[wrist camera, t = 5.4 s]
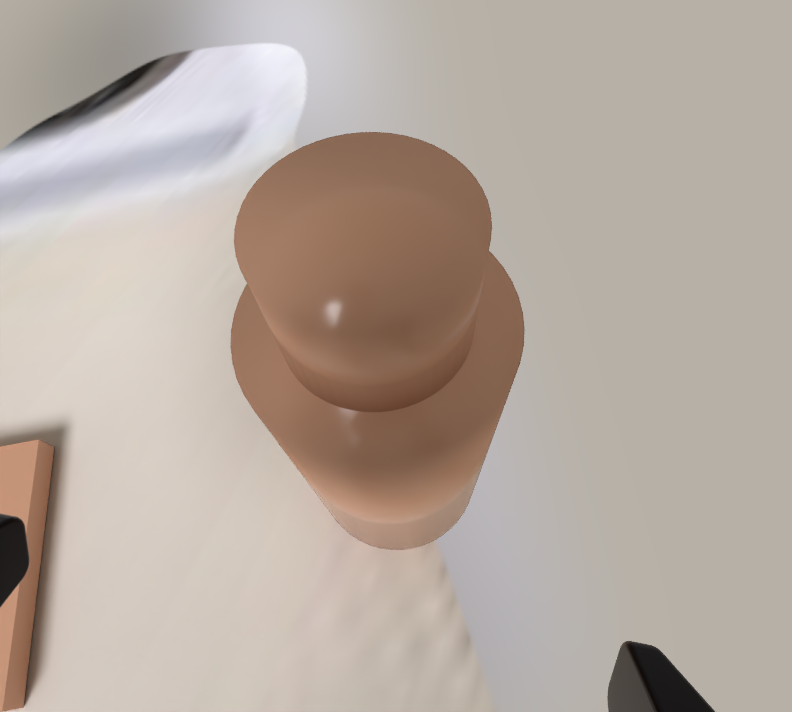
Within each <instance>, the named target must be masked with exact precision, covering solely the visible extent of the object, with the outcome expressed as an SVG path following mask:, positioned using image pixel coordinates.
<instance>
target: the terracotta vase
mask: <svg viewBox="0 0 792 712" xmlns="http://www.w3.org/2000/svg"><path fill="white" fill-rule="evenodd" d="M491 230H492V222H491V212H490V208H489V204H488V200H487V198H486V196H485V194H484V191H483V189H482V187H481V186H480V184H479V183H478V181H477V180H476V178H475V177H474V176H473V174H472V173H471V172H470V171H469V170H468V169H467V168H466V167H465V166H464V165H463V164H462V163H460V161H458V160H457V159H456V158H454V157H453V156H452V155H450V154H448V153H447V152H445V151H444V150H442V149H440V148H438V147H436V146H434V145H432V144H429V143H427V142H424V141H422V140H419V139H415V138H412V137H408V136H404V135H398V134H392V133H380V132H379V133H378V132H365V133H364V132H361V133H351V134H344V135H339V136H334V137H330V138H326V139H323V140H320V141H316V142H314V143H312V144H309V145H306V146H304V147H302V148H300V149H298V150H296V151H294V152H292V153H290V154H289V155H287V156H286V157H284V158H283V159H281V160H279V161H278V162H277V163H275V164H274V165H273V166H272V167H271V168H269V169H268V170H267V171H266V172H265V173H264V174H263V175H262V176H261V177H260V178H259V179H258V180H257V181H256V183H255V184H254V185H253V187H252V188H251V189H250V191H249V192H248V194H247V196H246V198H245V199H244V201H243V203H242V205H241V208H240V211H239V213H238V216H237V220H236V225H235V234H234V245H235V252H236V257H237V261H238V264H239V267H240V270H241V272H242V274H243V276H244V278H245V280H246V282H247V285H246V287H245V289H244V291H243V293H242V295H241V297H240V299H239V302H238V305H237V308H236V311H235V314H234V319H233V324H232V329H231V353H232V362H233V366H234V370H235V373H236V377H237V380H238V383H239V385H240V387H241V389H242V391H243V394H244V396H245V397H246V399H247V400H248V402H249V403H250V405H251V406H252V408H253V409H254V411H255V412H256V414H257V415H258V416H259V418H260V419H261V420H262V422H263V423H264V424H265V426H266V427H267V428H268V430H269V431H270V432H271V434H272V435H273V436H274V438H275V439H276V440H277V442H278V443H279V445H280V446H281V447H282V449H283V450H284V451H285V453H286V454H287V455H288V457H289V458H290V459H291V461H292V462H293V463H294V465H295V466H296V467H297V469H298V470H299V471H300V473H301V474H302V475H303V477H304V478H305V479H306V481H307V482H308V483H309V485H310V486H311V487H312V489H313V490H314V492H315V493H316V494H317V496H318V497H319V498H320V500H321V501H322V502H323V504H324V505H325V506H326V508H327V509H328V510H329V512H330V513H331V514H332V516H333V517H334V518H335V520H336V521H337V522H338V523H339V524H340V525H341V527H342V528H343V529H345V530H346V531H347V532H348V533H349V534H350V535H352V536H353V537H355V538H357V539H358V540H360V541H362V542H364V543H366V544H369V545H371V546H375V547H378V548H383V549H390V550H403V549H411V548H415V547H419V546H423V545H425V544H427V543H430V542H432V541H434V540H436V539H437V538H439V537H441V536H442V535H443V534H445V533H446V532H447V531H448V530H449V529H450V528H451V527H453V525H454V524H455V523H456V522H457V521H458V520H459V518H460V517H461V516H462V514H463V513H464V511H465V509H466V507H467V505H468V503H469V500H470V498H471V495H472V492H473V490H474V487H475V484H476V482H477V479H478V476H479V473H480V471H481V468H482V465H483V462H484V460H485V457H486V454H487V452H488V449H489V446H490V443H491V441H492V438H493V435H494V433H495V430H496V427H497V424H498V422H499V419H500V416H501V413H502V411H503V408H504V405H505V403H506V400H507V397H508V394H509V392H510V389H511V386H512V384H513V381H514V378H515V375H516V373H517V370H518V367H519V364H520V361H521V356H522V351H523V346H524V321H523V312H522V308H521V305H520V301H519V297H518V295H517V292H516V290H515V288H514V285H513V283H512V281H511V279H510V278H509V276H508V274H507V273H506V271H505V269H504V268H503V266H502V265H501V264H500V263H499V262H498V260H497V259H496V258H495V257H494V255H493V254H492V253H491V252H489V246H490V241H491Z"/></svg>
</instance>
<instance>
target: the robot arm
mask: <svg viewBox="0 0 792 712" xmlns="http://www.w3.org/2000/svg"><path fill="white" fill-rule="evenodd" d="M29 563H30V558H29V550H28V543H27V536H26V529H25V524H24V522H23V521H22V519H20V518H19V517H16V516H11V515H6V514H1V513H0V607H1V606H2V605H3V603H4V602H5V601H6V600H7V598H8V597H9V596H10V595H11V593H12V592H13V591H14V589H15V588H16V587H17V586H18V584H19V583H20V582H21V580H22V579H23V578H24V576H25V574H26V573H27V570H28V567H29ZM608 708H609V709H608V710H609V712H715V711H714V710H713V709H712V708H711V706H710V705H709V704H708V703H707V702H706V701H705V700H704V699H703V698H702V696H701V695H700V694H699V693H698V692H697V691H696V690H695V689H694V687H693V686H692V685H691V684H690V683H689V682H688V681H687V680H686V679H685V678H684V676H683V675H682V674H681V673H680V672H679V671H678V670H677V669H676V668H675V666H674V665H673V664H672V663H671V662H670V661H669V660H668V659H667V657H666V656H665V655H664V654H663V653H662V652H661V651H660V650H659V649H658V648H656V647H654V646H652V645H647V644H642V643H637V642H632V641H626V642H624V643H623V644H622V646H621V648H620V651H619V654H618V657H617V660H616V663H615V667H614V670H613V673H612V677H611V680H610V683H609V688H608Z"/></svg>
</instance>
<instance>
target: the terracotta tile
mask: <svg viewBox="0 0 792 712" xmlns="http://www.w3.org/2000/svg"><path fill="white" fill-rule="evenodd" d="M53 455H54V447H53V446H51V445H49V444H47V443H45V442H43V441H41V440H39V439H38V440H33V441H27V442H22V443H16V444H11V445H5V446H0V513H1V514H6V515H11V516H16V517H19V518H20V519H22V521H23V522H24V524H25V529H26V536H27V543H28V550H29V558H30V563H29V567H28V570H27V573H26V574H25V576H24V578H23V579H22V580H21V582H20V583H19V584H18V586H17V587H16V588H15V589H14V591H13V592H12V593H11V595H10V596H9V597H8V598H7V600H6V601H5V602H4V603H3V605H2V606H1V607H0V712H3V711H8V710H13V709H18V708H23V707H24V699H25V690H26V682H27V673H28V665H29V657H30V648H31V640H32V631H33V623H34V615H35V606H36V598H37V589H38V581H39V573H40V564H41V556H42V547H43V539H44V531H45V522H46V514H47V505H48V497H49V489H50V480H51V472H52V463H53Z"/></svg>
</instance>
